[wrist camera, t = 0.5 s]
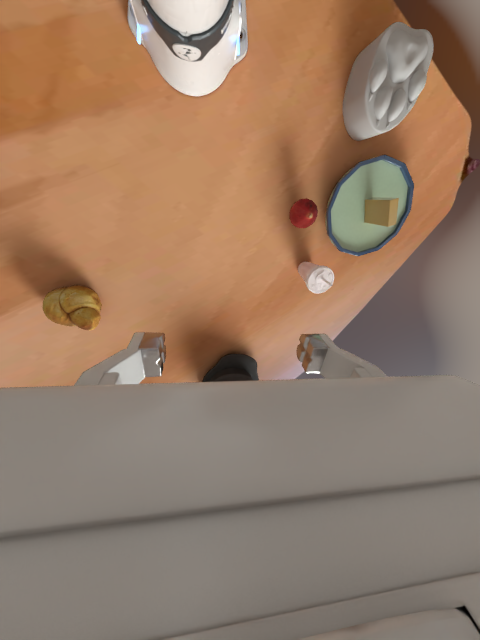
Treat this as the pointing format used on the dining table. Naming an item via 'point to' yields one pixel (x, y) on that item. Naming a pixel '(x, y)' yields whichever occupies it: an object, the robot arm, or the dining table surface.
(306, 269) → the smoothie
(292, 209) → the onion
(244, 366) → the casserole
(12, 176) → the dining table surface
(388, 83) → the lumpy-topped squat cylinder
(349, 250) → the plate
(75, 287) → the bread roll
